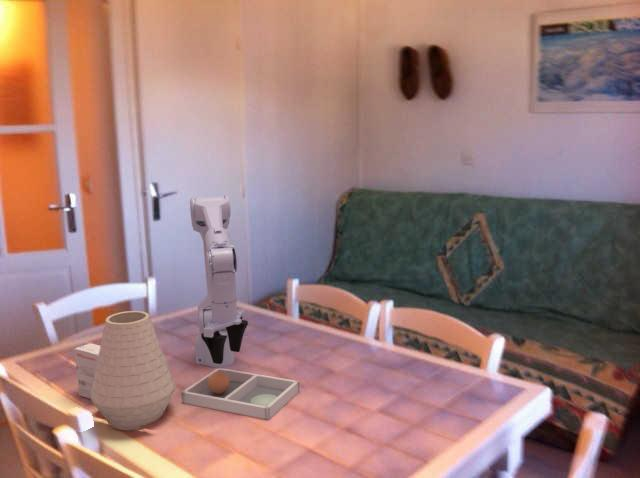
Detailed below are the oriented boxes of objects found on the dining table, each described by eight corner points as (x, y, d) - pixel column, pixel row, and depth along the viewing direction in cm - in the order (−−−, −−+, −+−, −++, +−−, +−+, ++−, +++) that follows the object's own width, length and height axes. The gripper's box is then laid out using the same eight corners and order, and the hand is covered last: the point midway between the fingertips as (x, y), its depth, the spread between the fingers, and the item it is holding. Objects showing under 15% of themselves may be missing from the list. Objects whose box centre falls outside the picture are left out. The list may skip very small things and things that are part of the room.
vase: (133, 446, 129) (123, 336, 125) (75, 426, 138) (65, 322, 134) (193, 411, 144) (187, 311, 139) (138, 394, 153) (130, 300, 148)
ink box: (119, 395, 153) (115, 348, 150) (102, 403, 149) (97, 355, 146) (94, 388, 157) (90, 341, 155) (77, 395, 153) (72, 348, 151)
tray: (182, 406, 146) (181, 392, 146) (218, 381, 160) (218, 367, 159) (268, 424, 137) (267, 408, 137) (299, 395, 151) (299, 381, 150)
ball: (204, 395, 149) (202, 374, 148) (216, 386, 154) (214, 366, 153) (222, 398, 147) (221, 378, 146) (234, 390, 152) (233, 370, 151)
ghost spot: (245, 404, 144) (245, 403, 144) (259, 393, 150) (259, 392, 150) (270, 409, 142) (270, 408, 142) (284, 397, 147) (284, 396, 147)
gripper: (221, 311, 139) (225, 371, 142) (254, 293, 152) (257, 348, 155) (194, 307, 142) (197, 366, 144) (228, 290, 155) (231, 344, 157)
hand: (226, 357), depth 150 cm, fingers open, 7 cm apart
